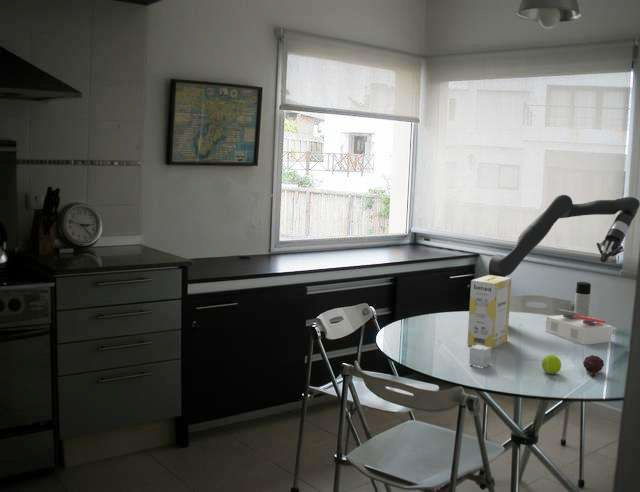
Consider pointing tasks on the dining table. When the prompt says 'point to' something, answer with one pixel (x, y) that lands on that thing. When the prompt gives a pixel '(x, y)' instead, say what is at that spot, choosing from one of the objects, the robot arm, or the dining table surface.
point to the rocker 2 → (589, 319)
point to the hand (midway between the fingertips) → (602, 261)
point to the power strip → (579, 329)
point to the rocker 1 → (568, 312)
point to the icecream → (593, 364)
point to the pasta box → (489, 311)
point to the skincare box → (480, 355)
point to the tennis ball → (551, 364)
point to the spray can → (582, 298)
